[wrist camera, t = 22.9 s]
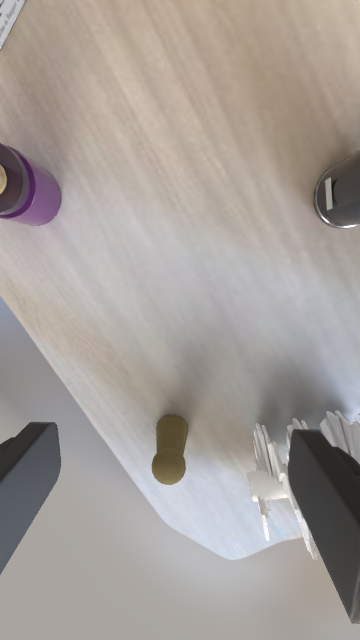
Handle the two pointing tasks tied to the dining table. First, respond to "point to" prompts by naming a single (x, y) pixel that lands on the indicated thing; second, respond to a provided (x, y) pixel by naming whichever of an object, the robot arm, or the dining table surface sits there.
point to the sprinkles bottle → (2, 179)
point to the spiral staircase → (274, 474)
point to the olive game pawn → (170, 449)
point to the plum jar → (27, 190)
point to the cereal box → (8, 16)
